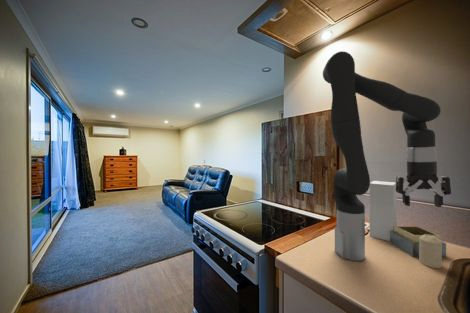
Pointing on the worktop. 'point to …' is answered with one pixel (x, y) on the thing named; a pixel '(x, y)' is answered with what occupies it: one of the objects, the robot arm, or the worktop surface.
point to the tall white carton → (382, 209)
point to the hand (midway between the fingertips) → (422, 205)
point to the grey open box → (411, 239)
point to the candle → (430, 251)
